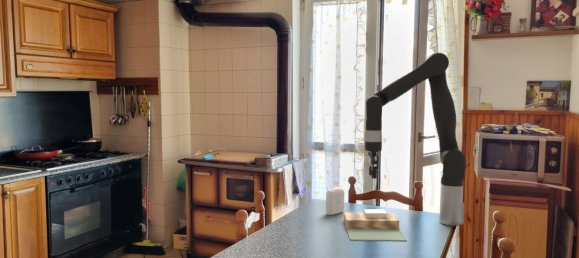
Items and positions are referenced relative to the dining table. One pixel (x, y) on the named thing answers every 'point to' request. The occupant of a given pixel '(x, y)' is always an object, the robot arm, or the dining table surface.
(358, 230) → the sage mat
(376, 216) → the cream tile
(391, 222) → the board
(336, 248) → the dining table surface
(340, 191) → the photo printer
